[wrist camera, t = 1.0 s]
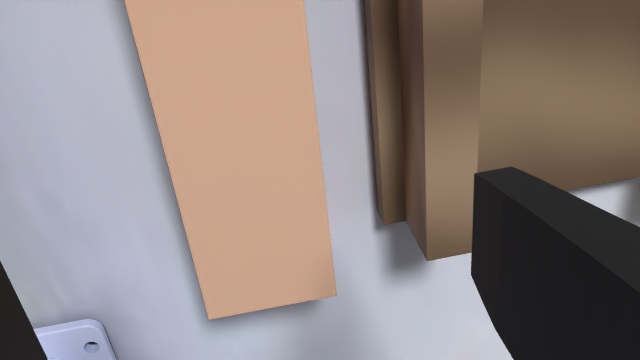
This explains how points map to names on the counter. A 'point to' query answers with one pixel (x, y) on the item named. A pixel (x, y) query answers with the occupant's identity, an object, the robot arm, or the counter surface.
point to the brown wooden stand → (497, 102)
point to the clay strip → (240, 146)
